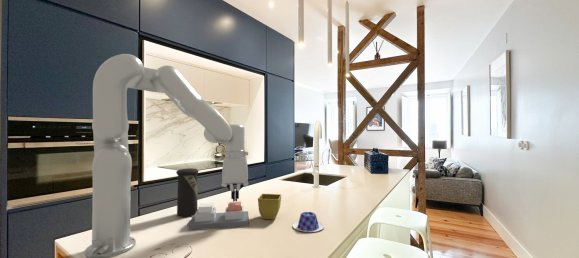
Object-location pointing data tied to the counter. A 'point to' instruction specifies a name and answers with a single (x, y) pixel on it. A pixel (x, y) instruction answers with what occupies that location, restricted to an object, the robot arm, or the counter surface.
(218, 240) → the counter surface
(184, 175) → the container
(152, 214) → the counter surface
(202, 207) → the white key
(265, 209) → the flower pot
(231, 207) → the brick key
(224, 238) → the counter surface
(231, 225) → the push button panel
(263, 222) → the counter surface
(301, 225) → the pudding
